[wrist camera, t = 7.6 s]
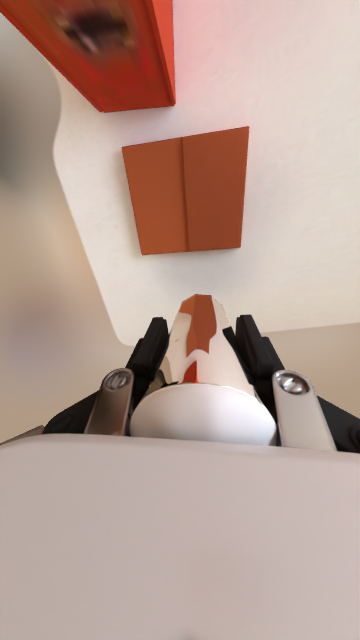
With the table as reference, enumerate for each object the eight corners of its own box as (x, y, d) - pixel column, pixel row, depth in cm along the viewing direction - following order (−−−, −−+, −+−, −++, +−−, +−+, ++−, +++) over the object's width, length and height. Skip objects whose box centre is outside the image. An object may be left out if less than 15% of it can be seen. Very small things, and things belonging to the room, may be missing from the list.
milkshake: (180, 352, 15) (153, 551, 6) (160, 292, 12) (61, 485, 4) (238, 344, 14) (303, 567, 5) (229, 276, 11) (327, 492, 3)
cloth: (124, 149, 20) (120, 145, 19) (247, 128, 18) (250, 124, 17) (143, 254, 25) (141, 255, 24) (239, 246, 23) (240, 248, 23)
